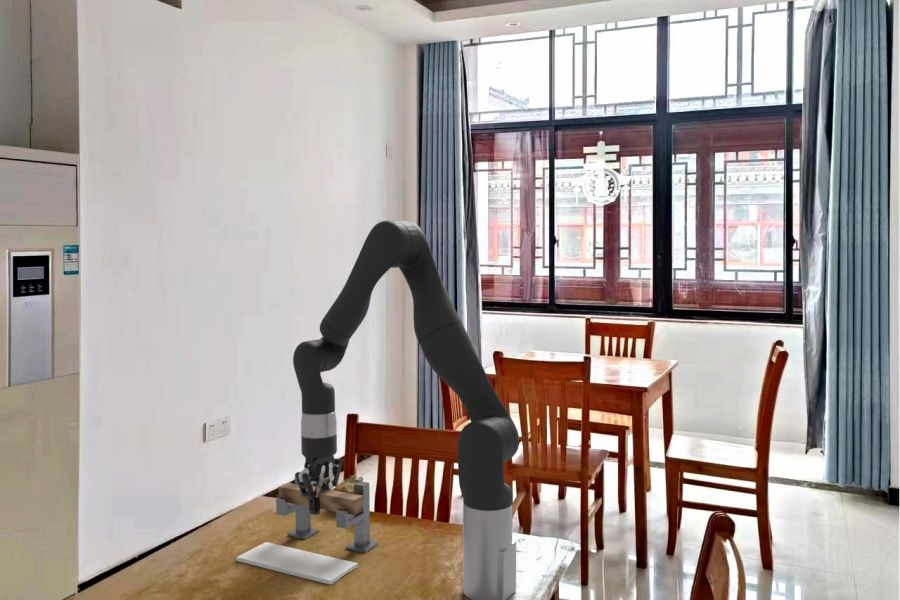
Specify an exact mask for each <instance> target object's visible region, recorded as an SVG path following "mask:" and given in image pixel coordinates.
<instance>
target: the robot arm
mask: <svg viewBox="0 0 900 600" xmlns="http://www.w3.org/2000/svg"><path fill="white" fill-rule="evenodd" d="M420 227H421V226H419V225H417V224H416V223H414V222H412V221H407V220H394V219H393V220H391V219H390V220H389V219H387V220H382V221H379V222H378V223H376V224H375V225H374V226H373V227H372V228H371V230H369V232H368V235H367V236H366V238H365V241H364V243H363V245H362V247H361V250H360V252H359V254H358V256H357V259H356V260H355V261H354V262H355V263H354V265H353V267H352V269H351V271H350V273H349V275H348V277H347V279H346V282H345V284H344V285H343V288H342V290H341V291H340V292H339V294H338V296H337V298H336V299H335V300H334V302H333V304H332V305H331V306H330V308H329V309H328V310H327V312H326V313H325V315H324V317H322V319H321V321H320V324H319V332H320V334H321V336H322V337H320V338H319V339H312V340H306V341H303V342H300V343H299V344H298V345H297V346H296V348H295V350H294V352H293V357H292V362H293V369H294V372H295V376H296V380H297V384H298V387H299V388H300V389H299V390H300V393H301V419H300V440H301V442H300V443H301V444H300V445H301V448H300V449H301V454H302V456H303V457H304V458H305V460H304V461H305V462H304V466H303V469H302V470H301V471H302V472H301V471H296V473H295V474H296V479H297V482H298V485H299V488H300V491H301V494H302V496H306V497H309V511H310V513H311V515H315V516H318V515H319V514H321V509H320V497H319V495H320V488H322V489H328V490H333V489H334V488H335V487H336V486H337V485H338V484H339V480H340V479H339V478H340V475H341V469H342V464H343V459H342V458H338V457H337V458H336V457H335V456H334V455H336V454H337V452H338V440H337V439H338V438H337V437H338V435H337V434H338V433H337V429H338V426H337V424H338V423H337V417H336V397H335V396H336V395H335V394H336V393H335V388H334V386H333V385H332V384H330V383H329V382H324V381H323V379H322V375H321V373H323V372H328V371H332V370H334V369H335V368H337V366H338V365H339V364H340V363H341V362H342V360H343V359H344V357H345V354H346V351H347V349H348V346H349V343H350V339H351V338H352V337H353V335H354V334H355V333H356V332H357V330H358V329H359V327H360V326H361V324H362V322H363V321H364V319H365V318H366V316H367V313H368V310H369V307H370V303H371V297H372V293H373V292H374V291H373V290H374V289H375V287H376V285H377V284H378V283H379V281H380V280H381V278H383V276H385V274H386V273H388V271H389V270H390V269H391V268H393V269H394V268H397V269H399V270H400V271H401V273H402V275H403V277H404V278H405V281H406V283H407V285H408V288H409V290H410V293H411V296H412V305H413V307H412V308H413V311H412V312H413V314H412V315H413V318H412V319H413V328H414V329H413V330H414V333H415V336H416V339H417V342H418V345H419V346H420V348H421V351H422V353H423V354H424V358H425V359H426V361H427V363H428V364H429V366H430V368H431V369H432V370H433V372H434V373H435V374H436V375H437V376H438V377H439V378H440V379H441V381H443V382H444V383H445V384H446V385H447V386H448V387H449V388H450V389H451V390H452V391H453V392H454V393H455V394H456V396H457V397H458V399H459V400H460V401H461V403H462V405H463V407H464V408H465V411H466V413H467V415H468V418H469V421H470V422H468V423H467V424H465V425H464V426H463V428H462V429H461V430H460V433H459V437H458V440H457V469H458V470H457V471H458V484H459V489H460V491H461V493H462V503H463V504H462V511H463V512H462V539H463V540H462V592H463V594H464V596H465V597H466V598H468V599H470V600H508V599H510V597H511V596H512V595H513V594H514V593H515V592H516V590H517V541H515V540H513V504H514V503H513V502H514V501H513V490H512V489H513V488H512V487H511V486H510V485H508V484H507V483H505V480H504V479H505V476H504V463H505V462H507V461H508V460H510V459H512V458H513V457H514V456H515V455H516V453H517V452H518V450H519V445H520V436H519V435H520V434H519V432H518V429H517V425H516V423H514V421H513V419H512V417H511V415H510V414H509V412H508V410H507V409H506V406H504V403H503V402H502V401H501V399H500V397H499V396H498V394H497V392H496V391H495V389H494V387H493V385H492V384H491V383H492V382H490V379H489V378H488V375H487V373H486V371H485V369H484V367H483V365H482V362H481V361H480V359H479V356H478V354H477V353H476V350H475V348H474V346H473V344H472V340H471V339H470V336H469V334H468V332H467V330H466V327H465V326H464V324H463V322H462V320H461V318H460V316H459V314H458V312H457V310H456V308H455V306H454V304H453V302H452V300H451V298H450V294H449V293H448V289H447V288H446V286H445V284H444V282H443V280H442V278H441V275H440V273H439V270H438V268H437V265H436V262H435V258H434V256H433V253H432V250H431V248H430V245H429V242H428V239H427V237H426V235H425V233H424V231H423V230H422V229H421V228H420ZM313 487H315V492H314V491H313ZM306 489H307V490H306Z"/></svg>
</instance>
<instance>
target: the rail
mask: <svg viewBox="0 0 900 600" xmlns="http://www.w3.org/2000/svg"><path fill="white" fill-rule="evenodd" d="M306 490H307V489H306ZM313 491H314V492H315V486H313ZM278 497H283V498H288V503H292V504H297V505H303V506H308V507H309V497H306V496H302V494H301V491H300V488H299V485H298V484H295V483H292V482H286V483H284V484H282V485H280V486H278ZM319 497H320V510H325V511H330V512H335V513H336V510H337V509H339V508H340V509H345V510H349V514H351V515H356V514H358V513H359V512H361V511H363V495H357V494H351V493H345V492H339V491H333V490H328V489H322V488H321V487H320V495H319Z"/></svg>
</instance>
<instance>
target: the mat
mask: <svg viewBox="0 0 900 600" xmlns="http://www.w3.org/2000/svg"><path fill="white" fill-rule="evenodd" d="M236 562H240V563H244V564H249V565H252V566H256V567H260V568H264V569H267V570H271V571H276V572H279V573H283V574H287V575H291V576H296V577H299V578H302V579H306V580H311V581H313V582H318V583H322V584H323V583H324V584H326V585H330V586H331V584H332V585H334V584H335V583H336V582H337V580H338V581H339V580H341V579H342V578H343V577H342V576H344V575H345V574H347V573H348V572H350V571H351V572H352V570H353V569H354V570H356V569H357V568H359V567H358V566H359V565H358V562H355V561H350V560H345V559H341V558H337V557H333V556H328V555H324V554H320V553H315V552H311V551H306V550H303V549H298V548H294V547H290V546H284V545H281V544H276V543H273V542H268V541H265V542H264V543H262V544H259V545H258V546H255V547H253V548H252V549H250V550H248V551H246V552H244V553H241V554H240V555H238V556H236ZM355 568H356V569H355ZM354 570H353V571H354ZM351 572H350V573H351ZM348 574H349V573H348ZM348 574H347V575H348ZM345 576H346V575H345ZM345 576H344V577H345ZM341 577H342V578H341ZM340 578H341V579H340ZM334 582H335V583H334Z"/></svg>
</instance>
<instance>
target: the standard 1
mask: <svg viewBox="0 0 900 600" xmlns="http://www.w3.org/2000/svg"><path fill="white" fill-rule="evenodd" d="M302 471H303V470H301V471H300V472H302ZM294 484H298V482H297V479H296V473H294ZM275 503H276V504H275V506H276V507H275V508H276V509H275V511H276V513H275V514H276V515H277V516H284V517H286V516H288V515H291V514H292V513H294V512H295V513H294V514H295V518H294V519H295V529H293V530H291V531H288V532H287V533H286V534H287V536H288V537H291V538H295V539H301V540H308V539H309V538H312V537H313V536H314V535H316V534H319V533H320V529H319V528H313V527H312V522H311V521H312V514H311V513H310V511H309V507H308V506H303V505H297V504H292V503H288V498H283V497H279V496H278V497H275Z"/></svg>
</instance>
